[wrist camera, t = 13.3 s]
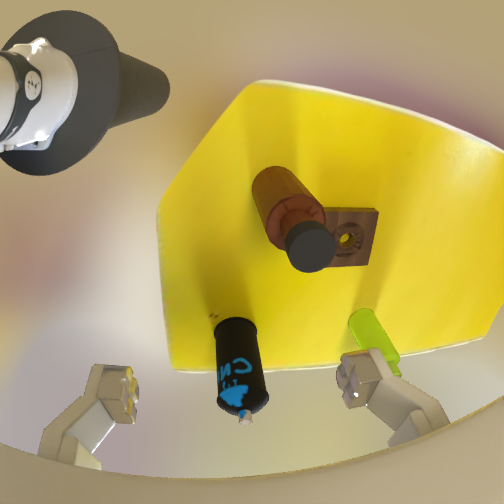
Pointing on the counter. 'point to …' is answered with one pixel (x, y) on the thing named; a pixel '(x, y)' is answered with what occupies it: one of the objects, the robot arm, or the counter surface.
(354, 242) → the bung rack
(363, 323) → the soap dispenser
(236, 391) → the aerosol can
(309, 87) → the counter surface
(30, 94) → the robot arm
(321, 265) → the cylinder
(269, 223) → the bottle
